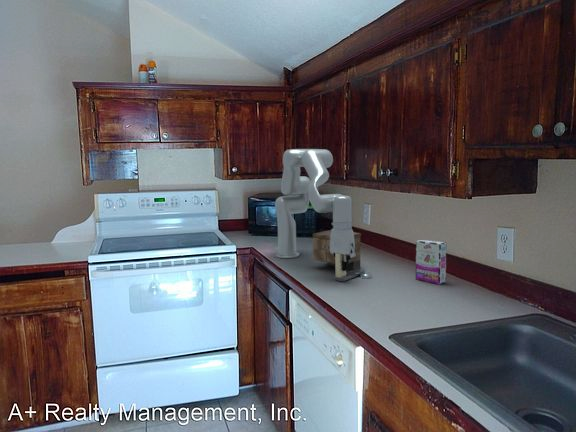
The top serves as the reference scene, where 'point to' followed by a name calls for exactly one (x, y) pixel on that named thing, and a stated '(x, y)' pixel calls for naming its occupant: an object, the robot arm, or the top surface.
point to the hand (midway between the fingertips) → (342, 269)
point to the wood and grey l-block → (342, 274)
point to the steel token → (365, 275)
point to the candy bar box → (431, 261)
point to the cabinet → (323, 249)
